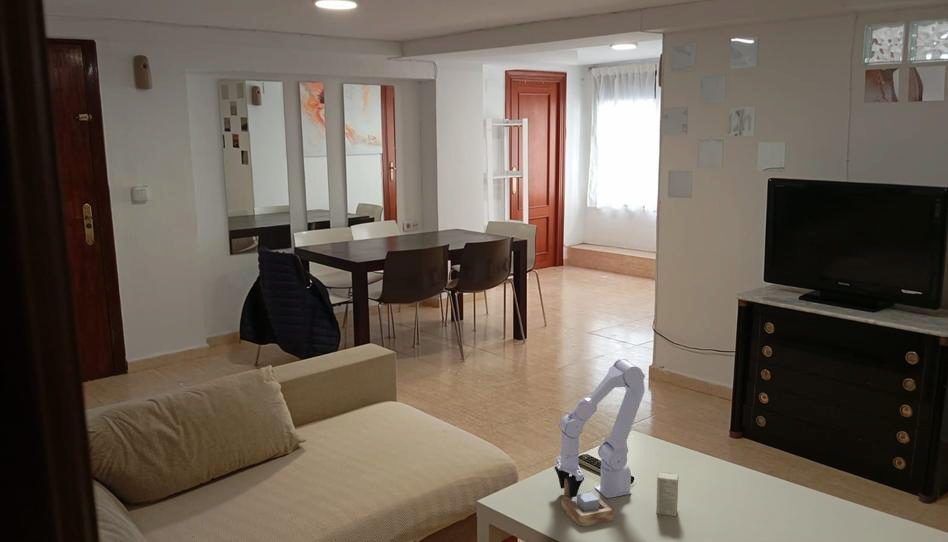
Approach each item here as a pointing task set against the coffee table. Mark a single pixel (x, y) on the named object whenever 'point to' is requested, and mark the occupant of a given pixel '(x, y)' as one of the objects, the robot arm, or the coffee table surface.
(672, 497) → the skincare box
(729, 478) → the coffee table surface
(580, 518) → the two-pronged wooden block
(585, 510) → the block with pull
